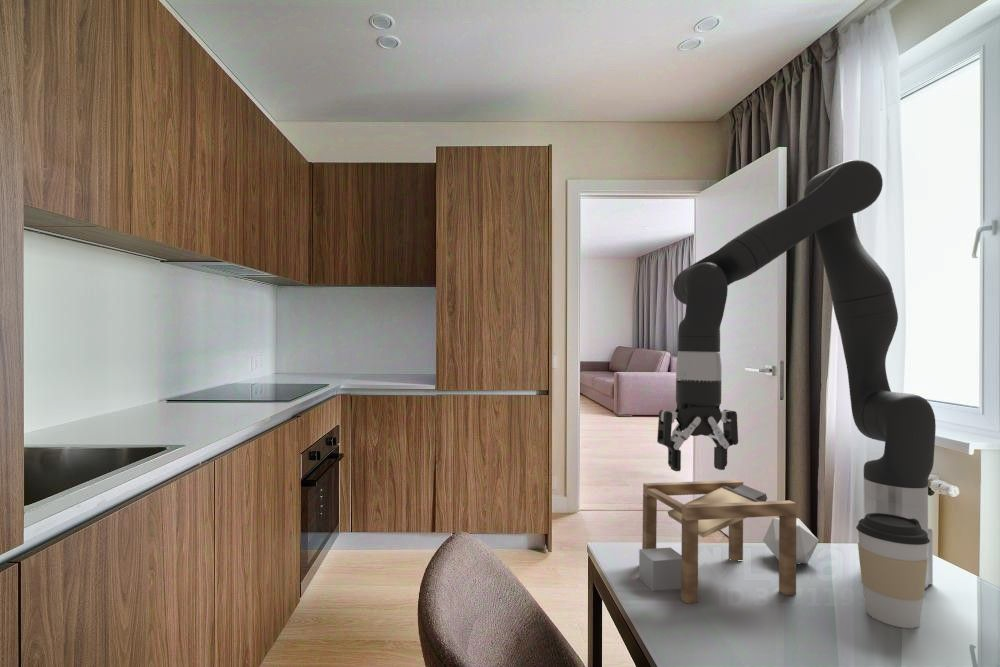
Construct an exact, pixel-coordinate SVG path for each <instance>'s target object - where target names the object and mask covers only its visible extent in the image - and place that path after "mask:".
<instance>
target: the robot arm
mask: <svg viewBox="0 0 1000 667" xmlns="http://www.w3.org/2000/svg"><path fill="white" fill-rule="evenodd" d="M883 180H884V179H883V176H882V174H881V171H880V170H879V168H878V167H877V166H876V165H875V164H874V163H872V162H870V161H867V160H864V159H852V160H847V161H843V162H841V163H839V164H836V165H834V166H831V167H829V168H828V169H826V170H823V171H822V172H820V173H818V174H816V175H814V176H812V178H811V179H809V181H808V182H807V184H806V186H805V188H804V193H803V198H801V199H800V200H798V201H797V202H795V203H793V204H791V205H790V206H788V207H786V208H784V209H783V210H781V211H778V212H777V213H775V214H773V215H771V216H768V218H766V219H764V220H762V221H760V222H758V223H757V224H755V225H753V226H751V227H750V228H748V229H746V230H745V231H743V232H742V233H740V234H739V235H737V236H735V237H734V238H732V239H731V240H729V241H728V242H727V243H726V244H724V245H723V246H721V247H720V248H719V249H718V250H716V251H715V252H713V253H711V254H709V255H707V256H705V257H703V258H701V259H699V260H698V261H697V262H694V263H693V264H691V265H689V266H688V267H686V268H685V269H683V270H682V271H681V272H679V274H678V275H677V276H676V278H675V279H674V282H673V285H672V286H673V289H672V290H673V294H674V297H675V298H676V300H678V302H680V303H682V304H684V305H686V306H685V312H684V313H685V314H684V315H685V316H684V317H683V319H682V320H681V321H680V322H679V325H678V330H677V358H676V361H675V362H676V364H675V403H676V409H675V411H669V410H666V409H665V410H664V409H661V410H659V412H658V423H657V437H656V439H657V440H656V441H657V443H658V444H660V445H662V446H665V447H667V464H668V467H670V470H672V471H674V472H681V471H682V469H681V468H682V467H681V466H682V463H681V462H682V460H681V459H682V450H681V447H682V445H683V443H684V442H685V441H687V440H688V439H690V436H691V437H698V436H705V437H707V436H708V437H709V439H711V441H712V442H713V443H714V448H713V450H714V452H713V467H714V468H715V469H716V470H719V471H724V470H725V469H726V467H727V465H728V449H729V447H730V446H733V445H734V446H737V445H738V443H739V431H738V429H739V427H738V413H737V411H736V410H730V409H724V410H721V408H720V406H721V404H722V372H723V371H722V359H721V325H722V324H721V323H722V321H723V318H724V314H725V309H726V303H727V298H728V286H729V285H731V284H733V283H735V282H738V281H740V280H743V279H746V278H748V277H749V276H751V275H753V274H754V273H756V272H758V271H759V270H760V269H762V268H763V267H765V266H767V265H768V264H769V263H771V262H773V261H774V260H776V259H777V258H778V257H780V256H781V255H783V254H784V253H785V252H787V251H789V250H790V249H791V248H793V247H794V246H796V245H798V244H799V243H800V242H802V241H804V240H806V238H808V237H810V236H812V235H813V234H814V236H815V239H816V241H817V244H818V247H819V250H820V253H821V257H822V261H823V266H824V270H825V273H826V278H827V281H828V282H827V283H828V286H829V290H830V298H831V301H832V306H833V310H834V311H833V312H834V316H835V320H836V323H837V327H838V330H839V334H840V338H841V345H842V350H843V355H844V359H845V364H846V365H845V366H846V371H847V378H848V379H847V380H848V387H849V388H848V389H849V397H850V398H849V399H850V400H849V401H850V407H851V413H852V414H851V415H852V418H853V421H854V425H855V427H856V428H857V430H858V431H859V433H861V434H862V435H863V436H864V437H867V438H869V439H872V440H875V441H879V442H884V451H883V453H882V454H883V455H882V456H881V457H880V458H877V459H873V460H868V461H866V462H864V464H863V518H864V517H865V516H866V515H867V514H869V513H884V514H891V515H896V516H901V517H905V518H908V519H912V518H914V519H917V520H918V521H919V523H920V526H921V528H922V529H923V530H924V531H926V532H927V534H928V538H929V540H930V542H929V543H928V548H927V557H928V563H927V572H926V581H925V589H927V588H928V587H929V585H933V583H934V582H933V581H934V578H933V574H934V573H933V569H934V568H933V564H934V563H933V561H934V560H933V552H934V551H933V550H934V549H933V546H934V545H933V541H934V540H933V533H934V532H933V530H932V528H930V527H929V477H930V475H931V472H932V470H933V467H934V462H935V460H934V459H935V448H936V447H935V445H936V431H937V430H936V424H937V423H936V416H935V413H934V409H933V406H932V405H931V404H930V402H929V401H928V400H927V399H925V398H924V397H923V396H920V395H918V394H915V393H906V392H904V393H903V392H894V391H891V387H890V384H889V380H888V376H887V368H886V363H887V362H886V359H887V355H888V351H889V349H890V346H891V343H892V341H893V338H894V336H895V333H896V330H897V326H898V322H899V313H898V308H897V304H896V298H895V295H894V291H893V287H892V284H891V281H890V279H889V277H888V276H887V274H886V272H885V271H884V270H883V269H882V267H881V266H880V265H879V263H878V262H877V261H876V260H875V259H874V258H873V257H872V256H871V255H870V254H869V252H868V251H867V250H866V249H865V247H864V245H863V244H862V243H861V240H860V238H859V235H858V232H857V227H856V222H855V219H854V214H857V213H860V212H862V211H863V210H866V209H867V208H869V207H870V206H872V205H873V204H874V203H875V202H876V201H877V200H878V198H879V197H880V196H881V195H880V194H881V193H882V189H883ZM675 420H676V422H677V424H676V426H675V428H674V429H673V430H672V428H673V427H672V425H673V423H674V422H675ZM720 421H721V422H722V427H723V428H722V429H723V430H722V429H721V428H720V426H719V422H720Z"/></svg>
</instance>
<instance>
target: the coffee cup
mask: <svg viewBox="0 0 1000 667" xmlns="http://www.w3.org/2000/svg"><path fill="white" fill-rule="evenodd" d="M855 529H856V530H857V534H858V543H857V550H858V556H859V557H858V560H859V568H860V569H859V570H860V578H861V583H862V588H863V591H862V592H863V599H864V611H865V612H866V614H867V615H868V616H870V617H871V616H872V618H873V617H874V618H873V619H875V618H876V619H877V621H879V620H880V621H879V622H881V621H882V622H881V623H884V624H886V625H889V626H893V627H897V628H902V629H916V628H918V627H920V626H921V620H922V610H923V600H924V598H925V589H926V588H925V581H926V572H927V563H928V557H927V548H928V543H929V542H930V540H929V538H928V534H927V532H926V531H924V530H923V529H922V528H921V526H920V523H919V521H918V520H917V519H914V518H912V519H908V518H905V517H901V516H896V515H891V514H884V513H869V514H867V515H866V516H865V517H864V516H863V518H861V519H860V520H858V524H857V525H856V526H855ZM876 619H875V620H876Z"/></svg>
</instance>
